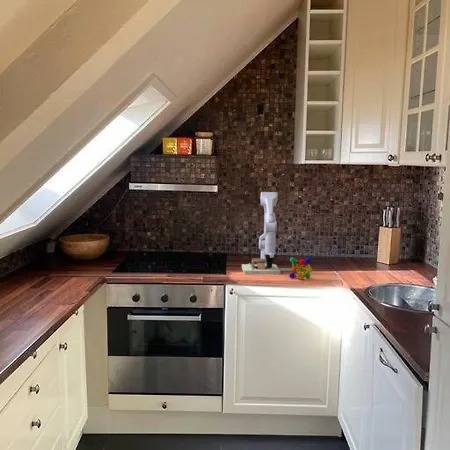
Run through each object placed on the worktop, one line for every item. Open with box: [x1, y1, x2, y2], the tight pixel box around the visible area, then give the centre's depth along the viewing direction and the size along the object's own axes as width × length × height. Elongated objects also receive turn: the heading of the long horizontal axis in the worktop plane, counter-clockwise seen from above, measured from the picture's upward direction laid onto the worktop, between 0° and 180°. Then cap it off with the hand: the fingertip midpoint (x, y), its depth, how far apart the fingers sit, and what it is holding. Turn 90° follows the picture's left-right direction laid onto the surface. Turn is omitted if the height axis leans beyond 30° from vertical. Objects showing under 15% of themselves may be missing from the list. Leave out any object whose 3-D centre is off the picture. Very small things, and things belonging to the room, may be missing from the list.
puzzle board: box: [241, 262, 281, 275], centre depth 273 cm, size 16×20×3 cm
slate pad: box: [278, 267, 292, 273], centre depth 275 cm, size 7×7×1 cm
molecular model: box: [289, 256, 313, 281], centre depth 256 cm, size 12×7×12 cm, turn 92°
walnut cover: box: [251, 257, 270, 269], centre depth 273 cm, size 7×9×4 cm
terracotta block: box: [256, 262, 265, 270], centre depth 271 cm, size 4×4×5 cm
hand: (269, 267), depth 268 cm, fingers closed
